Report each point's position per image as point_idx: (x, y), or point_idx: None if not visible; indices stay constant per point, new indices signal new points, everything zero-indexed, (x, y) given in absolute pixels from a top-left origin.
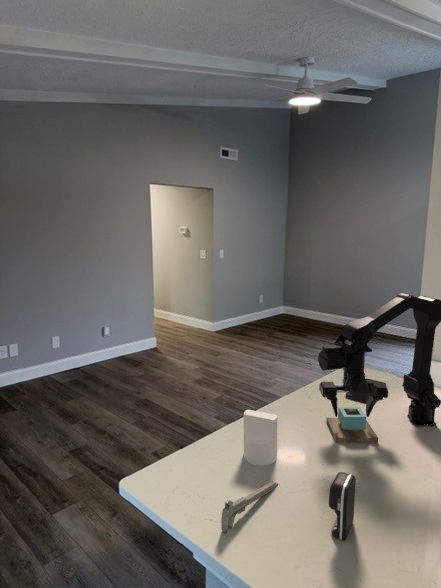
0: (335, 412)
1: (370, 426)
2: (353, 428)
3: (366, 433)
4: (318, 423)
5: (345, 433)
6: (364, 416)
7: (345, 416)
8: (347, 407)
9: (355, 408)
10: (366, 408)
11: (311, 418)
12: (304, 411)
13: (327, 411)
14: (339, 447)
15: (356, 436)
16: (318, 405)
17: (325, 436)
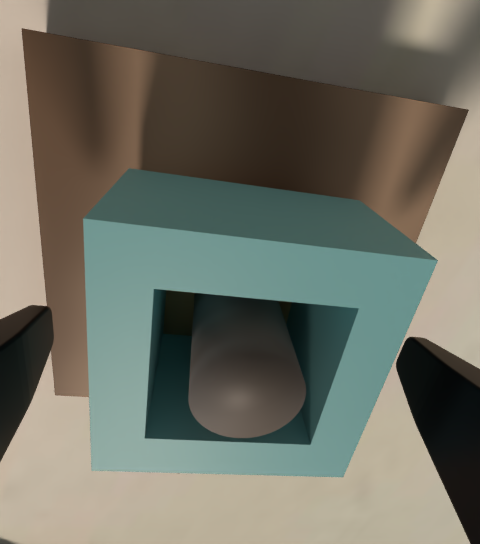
0: (477, 368)
1: (46, 268)
2: (263, 188)
3: (129, 147)
4: (397, 372)
5: (337, 173)
6: (111, 235)
7: (410, 267)
8: (249, 464)
9: (160, 443)
10: (9, 422)
11: (404, 423)
12: (397, 483)
13: (268, 481)
14: (459, 8)
15: (258, 99)
16: (287, 528)
17: (457, 211)
